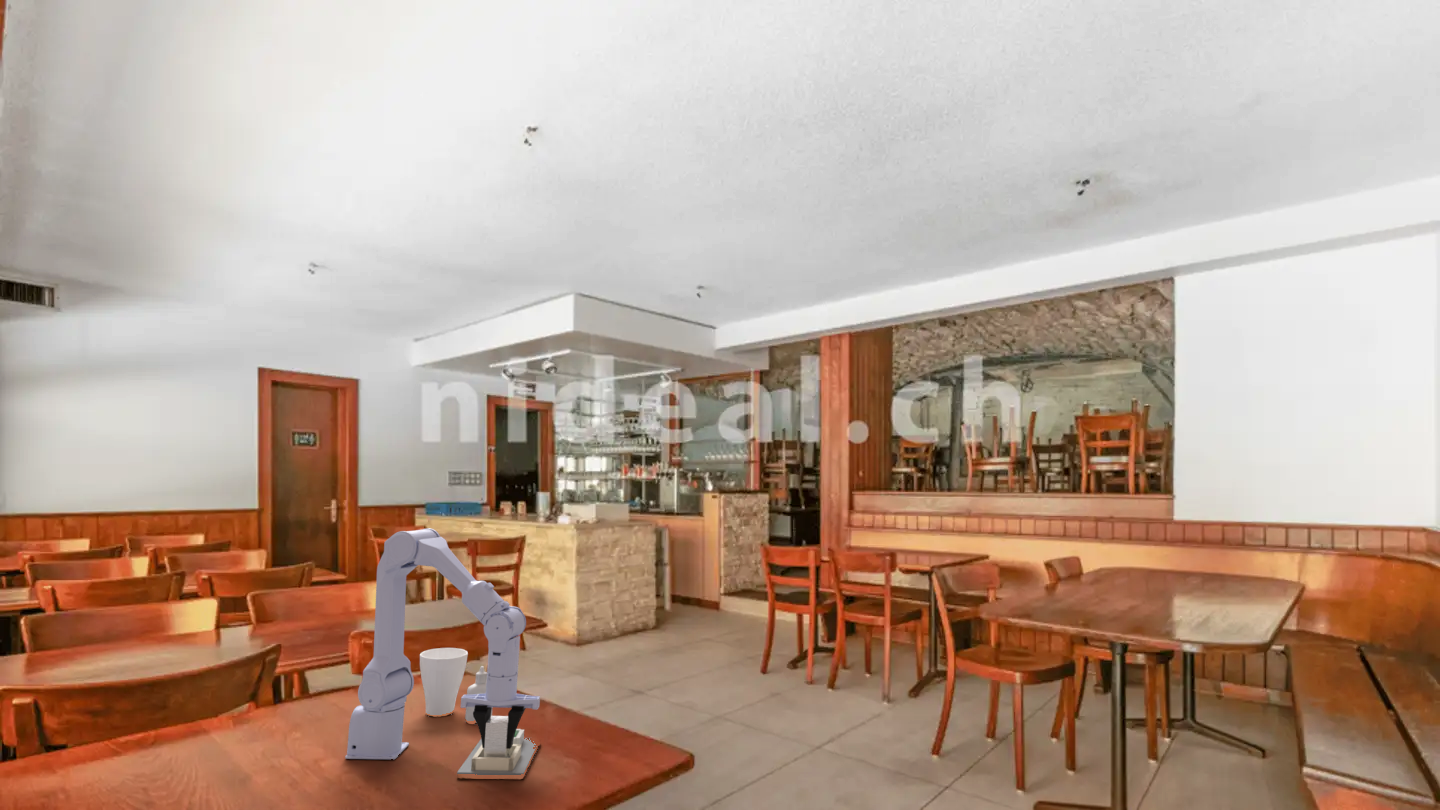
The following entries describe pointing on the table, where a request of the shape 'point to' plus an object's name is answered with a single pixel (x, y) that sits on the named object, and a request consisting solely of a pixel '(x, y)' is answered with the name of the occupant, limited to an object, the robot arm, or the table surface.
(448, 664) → the cup
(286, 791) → the table surface
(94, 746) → the table surface
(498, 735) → the block
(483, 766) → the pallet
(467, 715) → the eye dropper bottle
